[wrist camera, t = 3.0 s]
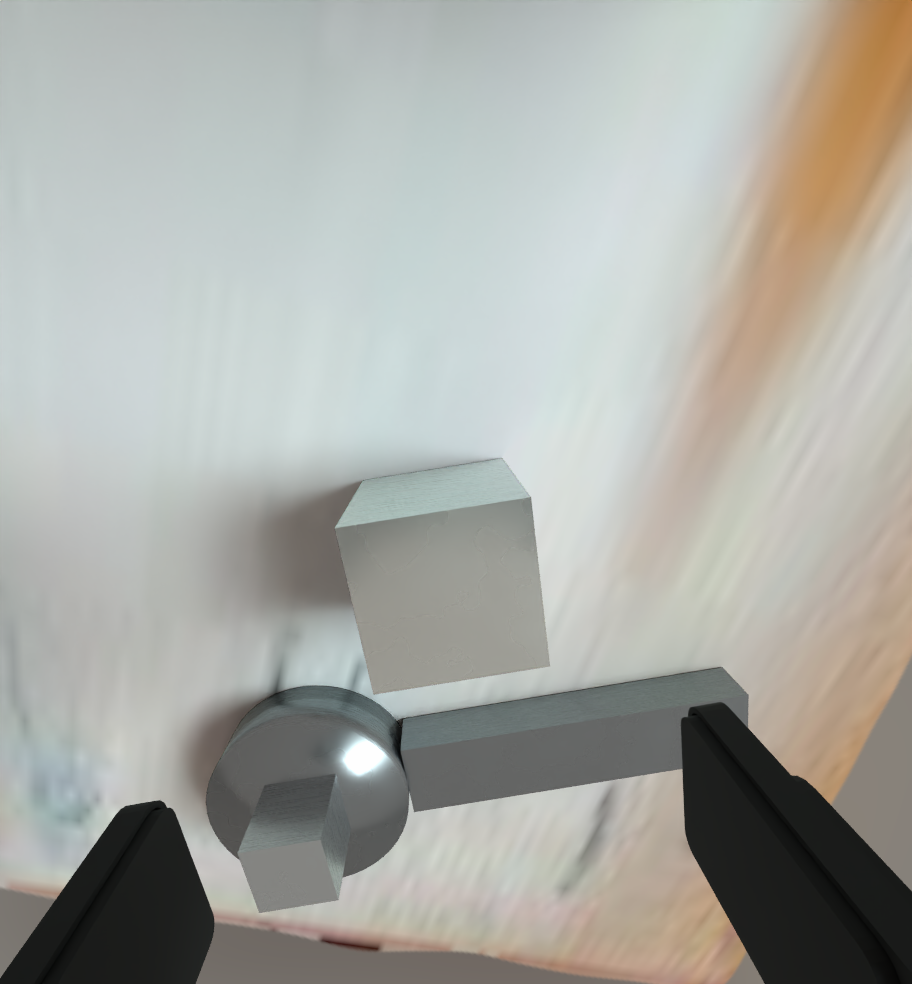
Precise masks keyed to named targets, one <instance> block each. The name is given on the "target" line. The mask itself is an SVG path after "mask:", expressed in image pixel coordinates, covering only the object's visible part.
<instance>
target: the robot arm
mask: <svg viewBox="0 0 912 984" xmlns="http://www.w3.org/2000/svg"><path fill="white" fill-rule="evenodd" d="M681 743H682V768H683V793H684V817H685V833H686V837H687V841H688V844H689V846H690V849H691V851H692V853H693V855H694V857H695V859H696V861H697V863H698V864H699V866H700V868H701V870H702V872H703V873H704V875H705V877H706V879H707V881H708V882H709V884H710V886H711V888H712V890H713V891H714V893H715V895H716V897H717V899H718V900H719V902H720V904H721V906H722V908H723V909H724V911H725V913H726V915H727V917H728V918H729V920H730V922H731V924H732V926H733V927H734V929H735V931H736V933H737V934H738V936H739V938H740V940H741V942H742V943H743V945H744V947H745V949H746V951H747V952H748V954H749V956H750V958H751V960H752V961H753V963H754V965H755V967H756V969H757V970H758V972H759V974H760V976H761V977H762V979H763V981H764V983H765V984H912V891H911V890H910V889H909V888H908V887H907V886H906V885H905V884H904V883H903V882H902V881H901V880H900V879H899V877H898V876H897V875H896V874H895V873H894V872H893V871H892V870H891V869H890V868H889V867H888V866H887V865H886V864H885V863H884V861H883V860H882V859H881V858H880V857H879V856H878V855H877V854H876V853H875V852H874V851H873V850H872V849H871V848H870V847H869V846H868V844H867V843H866V842H865V841H864V840H863V839H862V838H861V837H860V836H859V835H858V834H857V833H856V832H855V831H854V830H853V829H852V827H851V826H850V825H849V824H848V823H847V822H846V821H845V820H844V819H843V818H842V817H841V816H840V815H839V814H838V813H837V812H836V810H835V809H834V808H833V807H832V806H831V805H830V804H829V803H828V802H827V801H826V800H825V799H824V798H823V797H822V796H821V794H820V793H819V792H818V791H817V790H816V789H815V788H814V787H813V786H812V785H810V784H809V783H808V782H807V781H806V780H804V779H802V778H800V777H799V776H791V775H790V774H789V773H788V772H787V770H786V769H785V768H784V767H783V766H782V765H781V764H780V763H779V762H778V761H777V759H776V758H775V757H774V756H773V755H772V754H771V753H770V752H769V751H768V750H767V748H766V747H765V746H764V745H763V744H762V743H761V742H760V741H759V740H758V739H757V738H756V736H755V735H754V734H753V733H752V732H751V731H750V730H749V729H748V728H747V727H746V725H745V724H744V723H743V722H742V721H741V720H740V719H739V718H738V717H737V716H736V714H735V713H734V712H733V711H732V710H731V709H730V708H729V707H728V706H727V705H726V704H725V703H722V702H717V703H711V704H706V705H700V706H694V707H690V708H689V710H688V717H683V718H682V719H681ZM213 932H214V916H213V912H212V910H211V907H210V904H209V902H208V899H207V896H206V894H205V891H204V889H203V886H202V883H201V881H200V878H199V875H198V873H197V870H196V867H195V865H194V862H193V859H192V857H191V854H190V851H189V849H188V846H187V843H186V841H185V838H184V835H183V833H182V830H181V827H180V825H179V822H178V820H177V817H176V814H175V812H174V810H173V809H171V808H167V807H166V805H165V803H164V802H162V801H160V800H159V801H152V802H146V803H140V804H135V805H129V806H125V807H124V808H122V809H121V810H120V811H119V812H118V813H117V814H116V815H115V817H114V818H113V820H112V821H111V822H110V824H109V825H108V827H107V828H106V830H105V831H104V832H103V834H102V835H101V837H100V838H99V839H98V841H97V842H96V844H95V845H94V846H93V848H92V849H91V851H90V852H89V854H88V855H87V856H86V858H85V859H84V861H83V862H82V863H81V865H80V866H79V868H78V869H77V871H76V872H75V873H74V875H73V876H72V878H71V879H70V880H69V882H68V883H67V885H66V886H65V887H64V889H63V890H62V892H61V893H60V895H59V896H58V897H57V899H56V900H55V902H54V903H53V904H52V906H51V907H50V909H49V910H48V912H47V913H46V914H45V916H44V917H43V919H42V920H41V922H40V923H39V924H38V926H37V927H36V929H35V930H34V931H33V933H32V934H31V935H30V937H29V938H28V940H27V941H26V943H25V944H24V946H23V947H22V948H21V950H20V951H19V952H18V954H17V955H16V957H15V958H14V960H13V961H12V962H11V964H10V965H9V967H8V968H7V969H6V971H5V972H4V974H3V975H2V977H1V978H0V984H196V981H197V978H198V976H199V973H200V971H201V968H202V965H203V962H204V960H205V957H206V955H207V952H208V949H209V947H210V944H211V941H212V938H213Z"/></svg>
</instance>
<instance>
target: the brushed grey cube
mask: <svg viewBox="0 0 912 984" xmlns="http://www.w3.org/2000/svg"><path fill="white" fill-rule="evenodd" d="M335 532H336V537H337V541H338V545H339V549H340V554H341V558H342V562H343V566H344V571H345V575H346V579H347V583H348V588H349V592H350V596H351V600H352V605H353V609H354V613H355V617H356V622H357V626H358V630H359V634H360V639H361V643H362V647H363V651H364V656H365V660H366V664H367V668H368V673H369V677H370V681H371V685H372V690H373V694H380V693H386V692H393V691H399V690H405V689H411V688H418V687H424V686H430V685H436V684H443V683H449V682H455V681H461V680H467V679H474V678H480V677H486V676H492V675H499V674H505V673H511V672H517V671H524V670H530V669H536V668H542V667H548V666H550V662H549V653H548V644H547V636H546V627H545V618H544V609H543V600H542V591H541V583H540V574H539V565H538V556H537V547H536V538H535V529H534V521H533V512H532V503H531V497H530V495H529V494H528V492H527V491H526V490H525V488H524V487H523V486H522V484H521V483H520V481H519V480H518V479H517V477H516V476H515V475H514V473H513V472H512V470H511V469H510V468H509V466H508V465H507V463H506V462H505V461H504V459H503V458H501V459H495V460H488V461H482V462H476V463H469V464H463V465H457V466H451V467H444V468H438V469H432V470H425V471H419V472H413V473H406V474H400V475H394V476H387V477H381V478H375V479H369V480H363V481H362V483H361V485H360V486H359V488H358V490H357V491H356V493H355V495H354V496H353V498H352V500H351V502H350V503H349V505H348V507H347V508H346V510H345V512H344V513H343V515H342V517H341V518H340V520H339V522H338V523H337V525H336V527H335Z"/></svg>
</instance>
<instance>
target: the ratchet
mask: <svg viewBox="0 0 912 984" xmlns="http://www.w3.org/2000/svg"><path fill="white" fill-rule="evenodd" d="M717 702H722V703H725V704H726V705H727V706H728V707H729V708H730V709H731V710H732V711H733V712H734V713H735V714H736V716H737V717H738V718H739V719H740V720H741V721H742V722H743V723H744V724H745V725H746V727H747V728H748V694H747V693H746V692H745V691H744V690H743V689H742V687H741V686H740V685H739V684H738V683H737V682H736V681H735V680H734V679H733V678H732V677H731V676H730V675H729V674H728V673H727V672H726V671H725V670H724V668H723V667H722V668H716V669H709V670H703V671H697V672H691V673H685V674H678V675H672V676H666V677H660V678H653V679H647V680H641V681H635V682H629V683H622V684H616V685H610V686H604V687H597V688H591V689H585V690H579V691H573V692H566V693H560V694H554V695H548V696H541V697H535V698H529V699H523V700H517V701H510V702H504V703H498V704H492V705H485V706H479V707H473V708H467V709H461V710H454V711H448V712H442V713H436V714H429V715H423V716H417V717H411V718H405V719H403V727H402V728H401V727H400V725H399V724H398V722H397V721H396V720H395V719H394V718H393V717H392V715H391V714H390V713H389V712H388V711H386V710H385V709H384V708H383V707H382V706H380V705H379V704H377V703H376V702H374V701H373V700H371V699H369V698H367V697H365V696H363V695H361V694H358V693H355V692H353V691H350V690H346V689H341V688H337V687H329V686H307V687H299V688H294V689H290V690H286V691H283V692H280V693H277V694H275V695H273V696H271V697H269V698H267V699H265V700H264V701H262V702H261V703H259V704H258V705H256V706H255V707H254V708H253V709H252V710H251V711H250V712H248V714H247V715H246V716H245V717H244V718H243V719H242V721H241V722H240V724H239V726H238V727H237V729H236V731H235V732H234V734H233V736H232V738H231V740H230V742H229V744H228V745H227V747H226V749H225V751H224V753H223V755H222V757H221V758H220V760H219V762H218V764H217V766H216V768H215V770H214V771H213V774H212V776H211V778H210V781H209V784H208V789H207V795H206V806H207V814H208V817H209V821H210V824H211V826H212V828H213V830H214V832H215V834H216V836H217V837H218V839H219V840H220V842H221V843H222V844H223V845H224V846H225V847H226V848H227V850H228V851H229V852H231V853H232V854H233V855H234V856H235V857H236V858H238V859H239V860H240V862H241V864H242V867H243V870H244V872H245V875H246V878H247V881H248V883H249V886H250V889H251V891H252V894H253V897H254V900H255V902H256V905H257V908H258V911H259V913H262V912H268V911H274V910H280V909H286V908H293V907H299V906H305V905H311V904H317V903H323V902H330V901H336V900H339V894H340V888H341V883H342V878H343V877H346V876H349V875H352V874H355V873H357V872H359V871H362V870H364V869H366V868H367V867H369V866H371V865H373V864H374V863H376V862H377V861H378V860H380V859H381V858H382V857H384V856H385V855H386V854H387V853H388V852H389V851H390V850H391V849H392V847H393V846H394V845H395V843H396V842H397V841H398V839H399V837H400V835H401V834H402V832H403V829H404V827H405V824H406V821H407V815H408V806H409V791H410V795H411V800H412V804H413V809H414V812H417V811H424V810H430V809H436V808H442V807H448V806H455V805H461V804H467V803H473V802H479V801H486V800H492V799H498V798H504V797H510V796H516V795H523V794H529V793H535V792H541V791H547V790H554V789H560V788H566V787H572V786H578V785H585V784H591V783H597V782H603V781H609V780H615V779H622V778H628V777H634V776H640V775H646V774H653V773H659V772H665V771H671V770H677V769H683V768H682V743H681V719H682V718H683V717H688V710H689V708H690V707H694V706H700V705H706V704H711V703H717Z"/></svg>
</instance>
